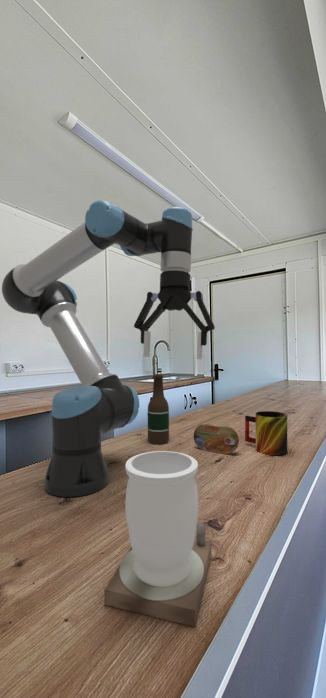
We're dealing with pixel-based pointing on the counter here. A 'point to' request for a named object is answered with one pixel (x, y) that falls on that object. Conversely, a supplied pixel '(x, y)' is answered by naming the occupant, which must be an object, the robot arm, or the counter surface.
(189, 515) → the jar
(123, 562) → the seat board
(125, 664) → the counter surface
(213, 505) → the counter surface
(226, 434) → the tin
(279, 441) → the mug
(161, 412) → the beer bottle
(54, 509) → the counter surface
